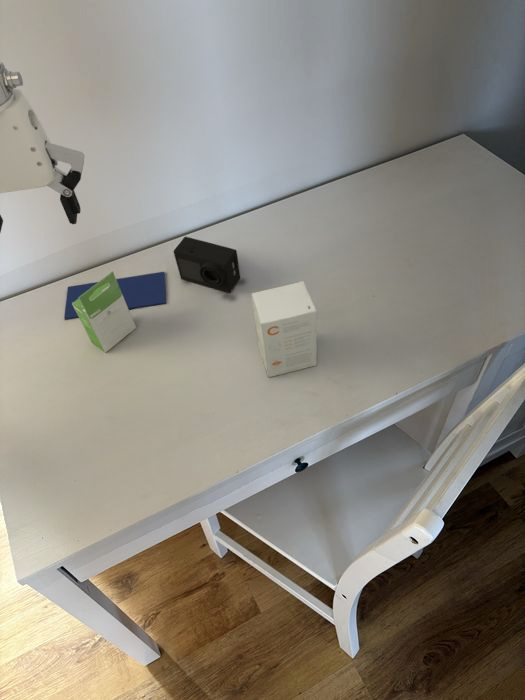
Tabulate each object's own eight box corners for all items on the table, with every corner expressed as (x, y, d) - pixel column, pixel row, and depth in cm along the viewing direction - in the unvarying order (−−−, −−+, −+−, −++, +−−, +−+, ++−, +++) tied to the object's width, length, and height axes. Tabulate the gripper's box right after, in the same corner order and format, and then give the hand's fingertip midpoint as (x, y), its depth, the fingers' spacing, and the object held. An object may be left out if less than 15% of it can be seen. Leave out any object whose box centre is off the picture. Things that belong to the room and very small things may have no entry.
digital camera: (176, 283, 98) (168, 255, 92) (191, 264, 101) (184, 235, 95) (227, 298, 95) (221, 269, 89) (240, 278, 97) (236, 249, 92)
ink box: (122, 317, 94) (98, 261, 83) (137, 328, 92) (114, 271, 81) (91, 342, 91) (61, 286, 80) (105, 353, 89) (77, 298, 78)
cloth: (64, 320, 94) (64, 318, 94) (68, 288, 99) (67, 286, 99) (166, 303, 95) (165, 302, 95) (164, 272, 100) (164, 271, 100)
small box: (305, 336, 88) (304, 279, 78) (317, 366, 84) (317, 310, 74) (257, 348, 87) (250, 292, 77) (267, 378, 83) (261, 324, 73)
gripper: (58, 63, 58) (105, 196, 72) (-103, 84, 57) (-26, 215, 71) (52, 95, 54) (103, 231, 67) (-124, 119, 53) (-37, 252, 66)
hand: (36, 223), depth 69 cm, fingers open, 9 cm apart
